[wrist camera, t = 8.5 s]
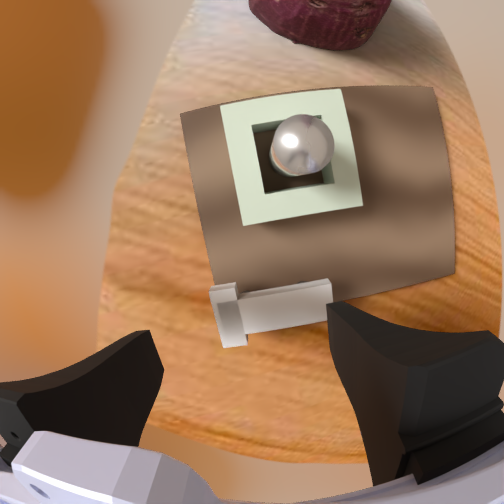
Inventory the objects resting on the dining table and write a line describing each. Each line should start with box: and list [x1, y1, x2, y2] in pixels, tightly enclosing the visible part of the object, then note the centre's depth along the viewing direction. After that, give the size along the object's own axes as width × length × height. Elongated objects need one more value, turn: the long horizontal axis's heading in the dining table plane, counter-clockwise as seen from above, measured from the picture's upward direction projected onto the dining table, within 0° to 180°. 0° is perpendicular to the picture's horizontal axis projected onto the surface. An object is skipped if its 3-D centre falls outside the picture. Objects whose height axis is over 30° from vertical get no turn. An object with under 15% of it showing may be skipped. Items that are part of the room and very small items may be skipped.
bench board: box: [180, 86, 455, 348], centre depth 18 cm, size 16×19×4 cm
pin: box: [269, 114, 335, 177], centre depth 15 cm, size 3×3×7 cm
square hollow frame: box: [220, 89, 363, 226], centre depth 17 cm, size 7×7×3 cm
